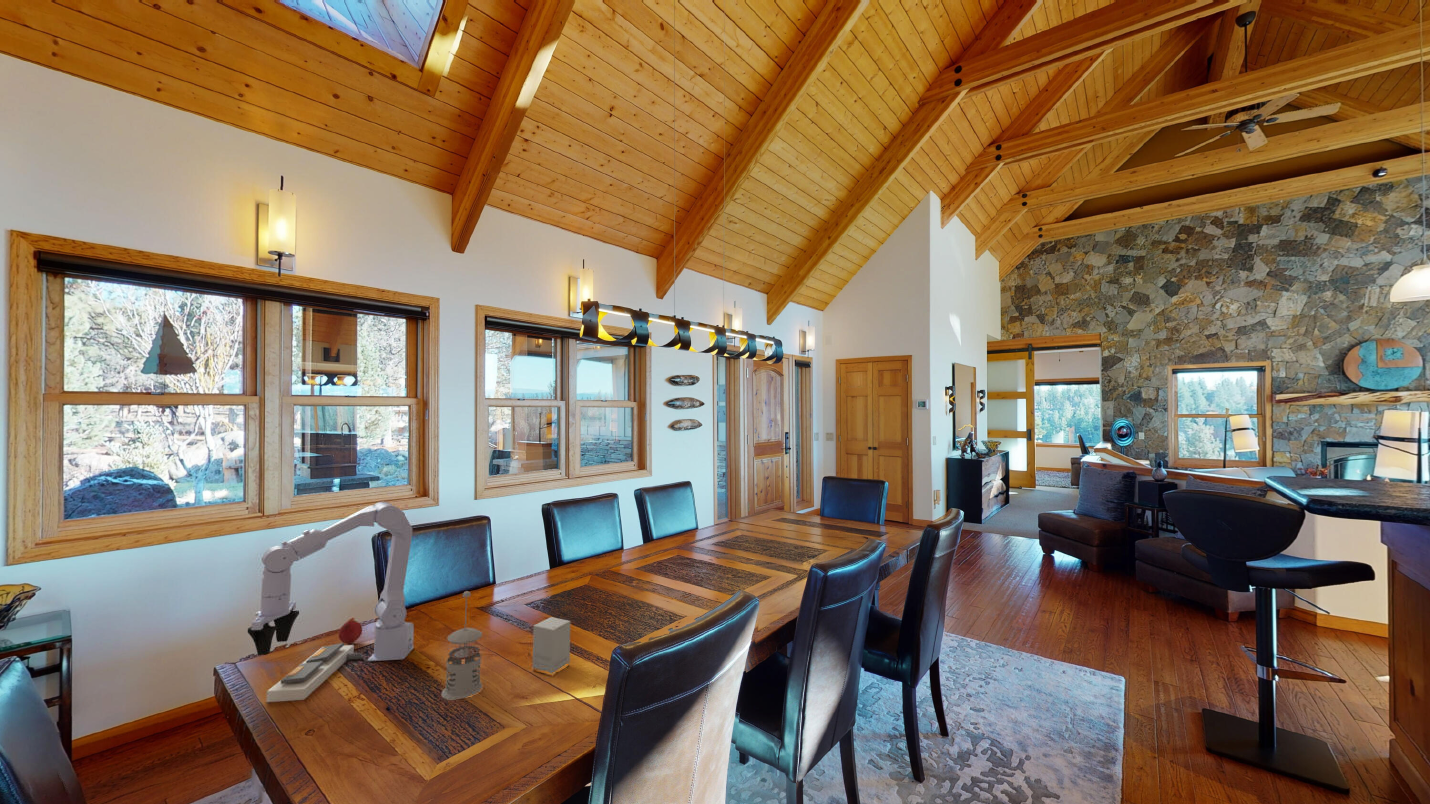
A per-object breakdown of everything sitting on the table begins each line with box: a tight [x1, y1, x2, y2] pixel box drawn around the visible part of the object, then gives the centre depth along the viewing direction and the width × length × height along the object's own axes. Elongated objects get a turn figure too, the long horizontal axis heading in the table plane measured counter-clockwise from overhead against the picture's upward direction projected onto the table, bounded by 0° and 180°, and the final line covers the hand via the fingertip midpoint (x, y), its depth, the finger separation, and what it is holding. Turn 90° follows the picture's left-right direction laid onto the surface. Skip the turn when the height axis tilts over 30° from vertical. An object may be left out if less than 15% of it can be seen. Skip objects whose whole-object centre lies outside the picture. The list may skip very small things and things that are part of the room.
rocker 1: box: [280, 661, 323, 684], centre depth 133 cm, size 5×9×1 cm, turn 12°
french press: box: [440, 590, 483, 701], centre depth 135 cm, size 10×12×25 cm
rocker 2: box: [305, 642, 345, 663], centre depth 144 cm, size 5×9×1 cm, turn 12°
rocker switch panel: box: [265, 644, 363, 703], centre depth 139 cm, size 12×25×3 cm, turn 11°
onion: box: [338, 617, 363, 645], centre depth 158 cm, size 6×6×8 cm
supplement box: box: [532, 616, 571, 673], centre depth 146 cm, size 7×7×13 cm
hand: (273, 647), depth 134 cm, fingers open, 7 cm apart
